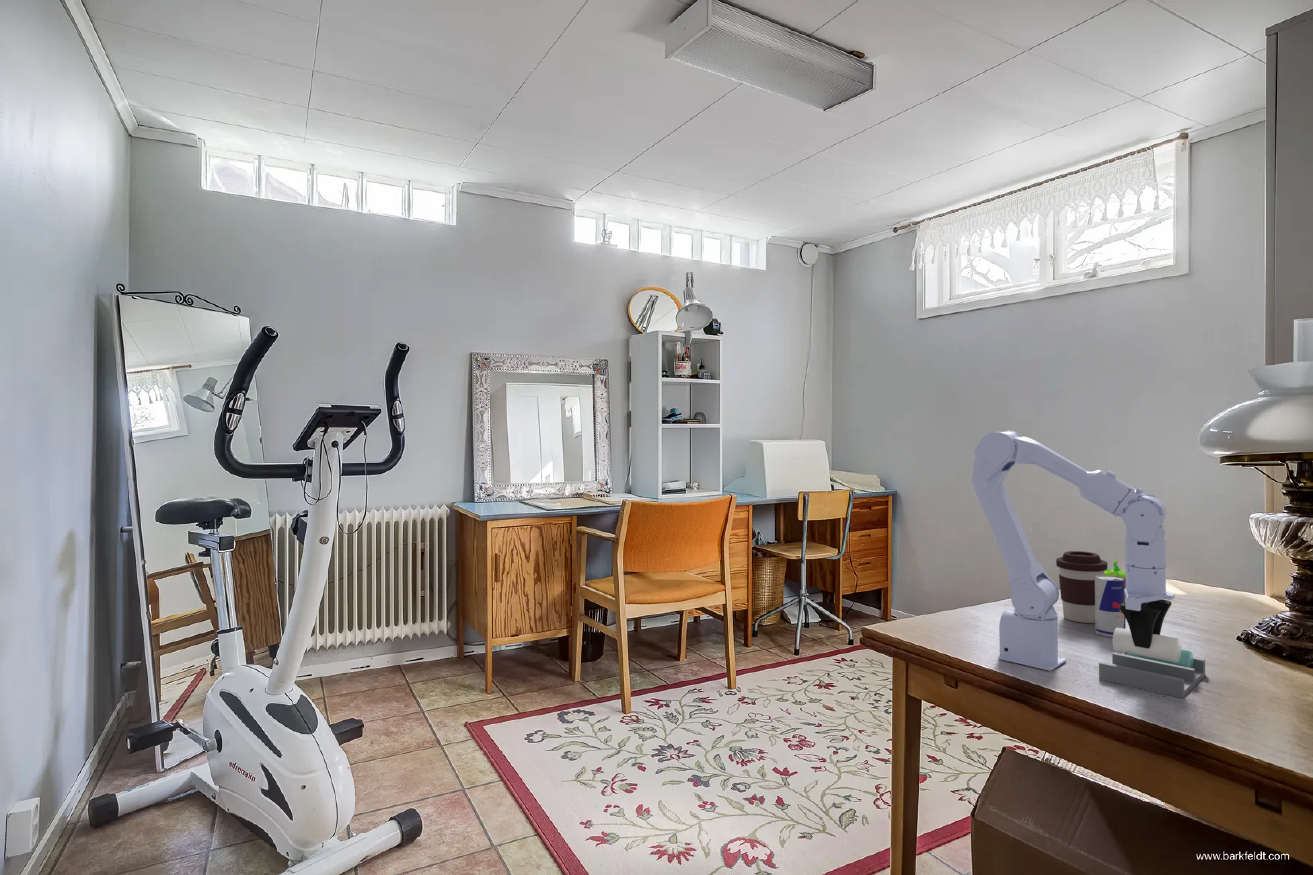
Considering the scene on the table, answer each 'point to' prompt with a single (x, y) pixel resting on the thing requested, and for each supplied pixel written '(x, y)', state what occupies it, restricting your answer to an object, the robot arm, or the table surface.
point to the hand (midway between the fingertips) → (1146, 643)
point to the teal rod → (1184, 661)
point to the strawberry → (1116, 572)
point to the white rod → (1159, 646)
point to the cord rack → (1152, 674)
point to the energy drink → (1109, 604)
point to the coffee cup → (1079, 584)
